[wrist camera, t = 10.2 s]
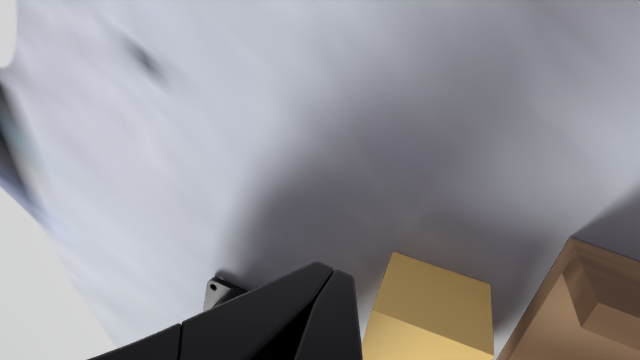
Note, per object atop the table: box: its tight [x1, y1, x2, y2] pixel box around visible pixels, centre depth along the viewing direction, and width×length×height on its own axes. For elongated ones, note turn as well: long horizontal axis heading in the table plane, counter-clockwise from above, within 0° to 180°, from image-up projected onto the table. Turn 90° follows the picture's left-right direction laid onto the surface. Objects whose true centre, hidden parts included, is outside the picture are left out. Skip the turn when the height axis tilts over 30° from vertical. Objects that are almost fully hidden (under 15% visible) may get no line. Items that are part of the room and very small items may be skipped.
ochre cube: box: [362, 252, 494, 360], centre depth 20 cm, size 5×5×5 cm
